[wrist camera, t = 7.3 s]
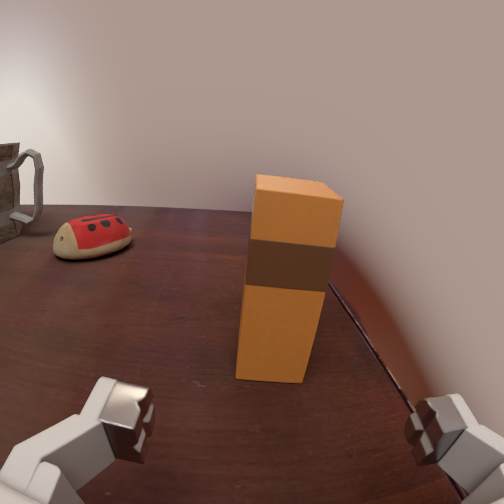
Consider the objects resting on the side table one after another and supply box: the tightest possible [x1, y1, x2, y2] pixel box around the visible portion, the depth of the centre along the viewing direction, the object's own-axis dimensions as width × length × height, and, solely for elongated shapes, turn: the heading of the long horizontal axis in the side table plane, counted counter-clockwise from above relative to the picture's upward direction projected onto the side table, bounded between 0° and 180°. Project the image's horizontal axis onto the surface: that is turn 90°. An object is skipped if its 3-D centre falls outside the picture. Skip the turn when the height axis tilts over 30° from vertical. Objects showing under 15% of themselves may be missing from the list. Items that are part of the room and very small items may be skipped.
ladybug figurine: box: [53, 214, 132, 260], centre depth 32 cm, size 7×10×4 cm
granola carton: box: [235, 174, 344, 383], centre depth 18 cm, size 5×4×11 cm
